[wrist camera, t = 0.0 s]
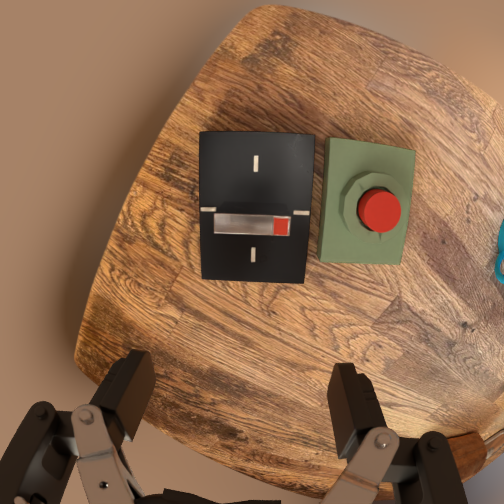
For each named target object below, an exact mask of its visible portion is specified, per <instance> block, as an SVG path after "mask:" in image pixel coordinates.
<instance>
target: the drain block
mask: <svg viewBox="0 0 504 504" xmlns="http://www.w3.org/2000/svg"><path fill="white" fill-rule="evenodd" d="M415 152H416V151H415V150H411V149H406V148H400V147H395V146H390V145H384V144H378V143H372V142H365V141H358V140H351V139H343V138H335V137H329V138H326V139H325V158H324V175H323V190H322V203H321V215H320V226H319V236H318V246H317V256H318V258H319V260H320V262H332V263H359V264H388V265H400V263H401V258H402V253H403V248H404V242H405V237H406V231H407V225H408V219H409V212H410V204H411V197H412V188H413V178H414V167H415ZM372 189H381V190H384V191H386V192H389V193H391V194H393V195H394V196H395V197H396V198H397V199H398V201H399V203H400V206H401V216H400V220H399V222H398V223H397V225H396V226H395V227H394V228H393V229H392V230H390V231H388V232H384V233H379V232H375V231H373V230H372V229H371V228H369V227H368V226H367V225H366V224H364V223H363V221H362V220H361V218H360V216H359V212H358V206H359V202H360V200H361V198H362V196H363V195H364V194H365V193H366V192H368V191H370V190H372Z"/></svg>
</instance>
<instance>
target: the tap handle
mask: <svg viewBox="0 0 504 504" xmlns="http://www.w3.org/2000/svg"><path fill="white" fill-rule="evenodd" d="M290 224H291V216H290V213H289V210H288V208H287V205H286V204H283V203H260V202H228V201H224V202H223V203H222V205H221V206H220V207H219V208H218V209H217V211H216V212H215V213H214V233H224V234H251V235H275V236H290Z"/></svg>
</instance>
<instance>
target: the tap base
mask: <svg viewBox="0 0 504 504" xmlns="http://www.w3.org/2000/svg"><path fill="white" fill-rule="evenodd" d="M314 152H315V135H311V134H299V133H284V132H261V131H202V132H200V133H199V215H200V250H201V274H202V279H208V280H226V281H247V282H269V283H297V284H304V278H305V269H306V260H307V250H308V239H309V228H310V216H311V203H312V188H313V172H314ZM224 201H228V202H260V203H283V204H286V205H287V208H288V210H289V213H290V216H291V224H290V236H275V235H251V234H224V233H214V213H215V212H216V211H217V209H218V208H219V207H220V206H221V205H222V203H223V202H224Z"/></svg>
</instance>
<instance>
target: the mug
mask: <svg viewBox="0 0 504 504" xmlns="http://www.w3.org/2000/svg"><path fill="white" fill-rule="evenodd" d="M498 248H499V255H498V257H497V259H496V262H495V269H494V270H495V275H496V278H497V279H498V280H499V281H500V282H501V283H503V284H504V275H503V274H502V273H501V272H500V264H501V262H502V259H504V220H503V222H502V225H501V227H500V232H499V237H498Z"/></svg>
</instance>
